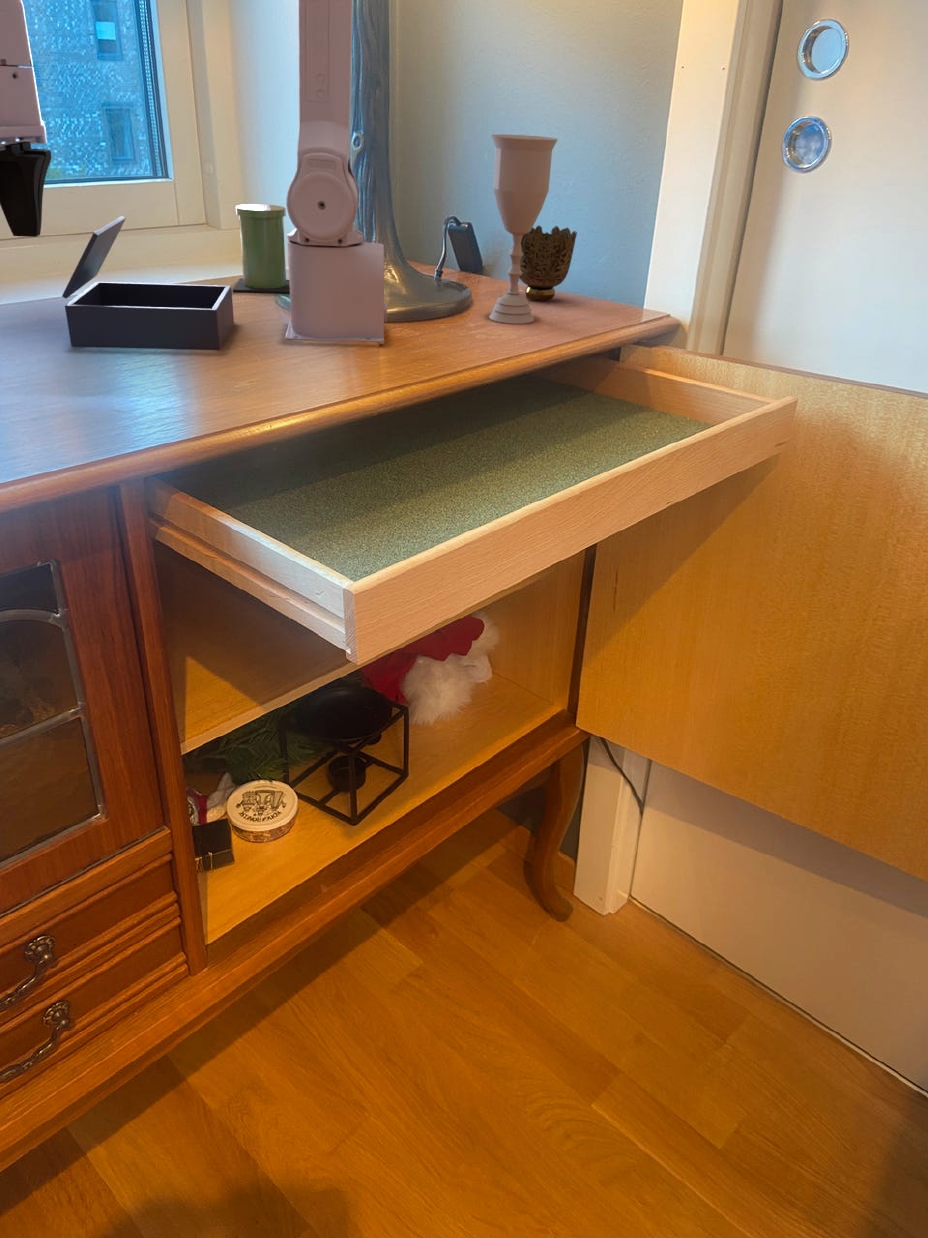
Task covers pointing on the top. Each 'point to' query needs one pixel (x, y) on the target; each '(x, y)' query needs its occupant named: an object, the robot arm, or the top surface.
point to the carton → (151, 316)
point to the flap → (94, 256)
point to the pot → (262, 245)
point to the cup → (545, 261)
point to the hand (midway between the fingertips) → (26, 235)
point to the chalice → (519, 207)
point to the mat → (244, 289)
